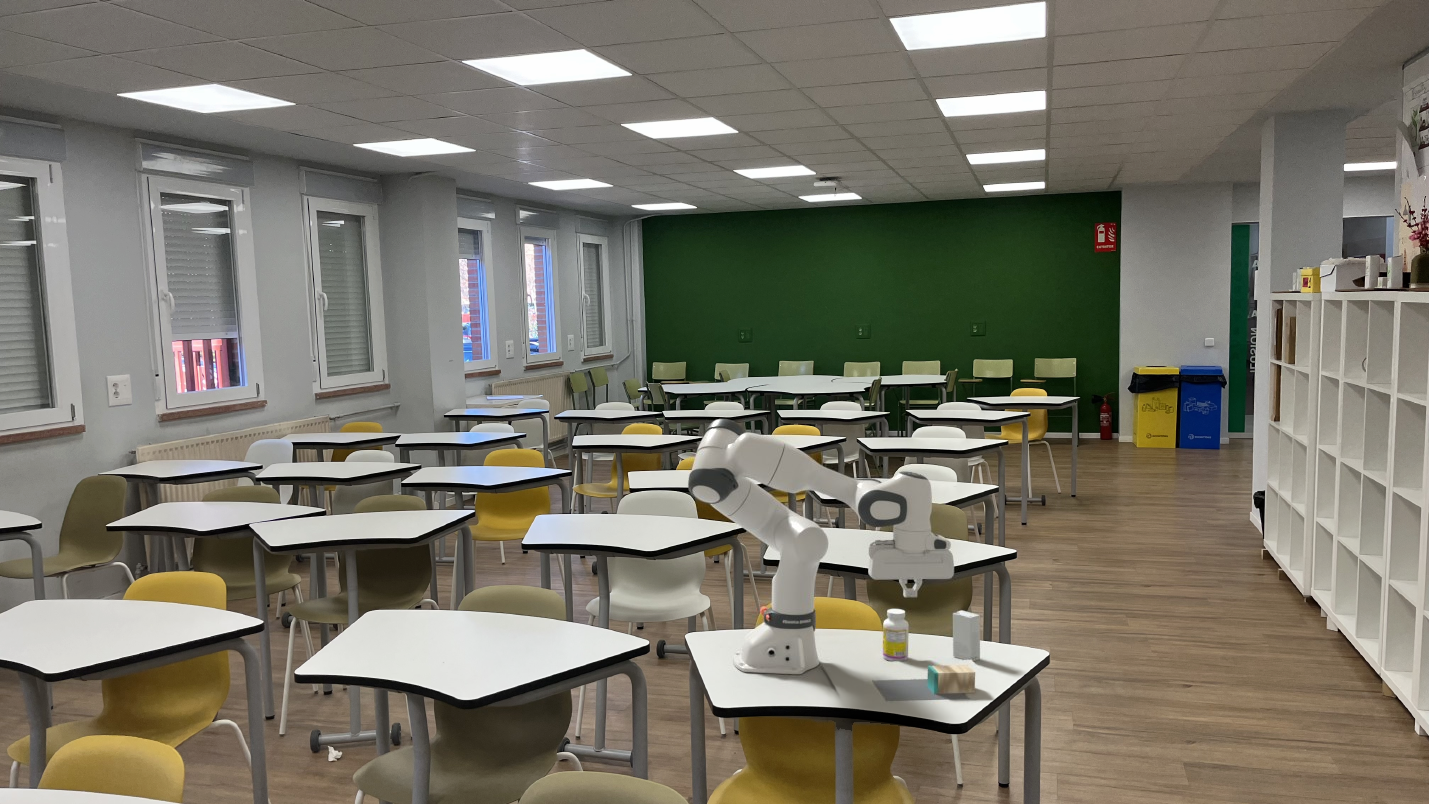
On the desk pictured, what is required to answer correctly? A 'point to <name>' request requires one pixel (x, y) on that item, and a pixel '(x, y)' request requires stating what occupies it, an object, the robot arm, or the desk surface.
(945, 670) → the birch block
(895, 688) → the rubber mat
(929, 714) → the desk surface
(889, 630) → the supplement bottle
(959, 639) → the skincare box
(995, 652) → the desk surface
